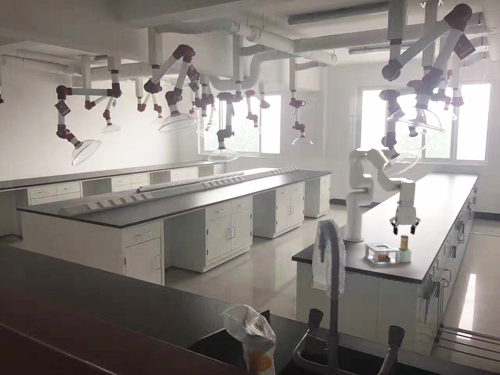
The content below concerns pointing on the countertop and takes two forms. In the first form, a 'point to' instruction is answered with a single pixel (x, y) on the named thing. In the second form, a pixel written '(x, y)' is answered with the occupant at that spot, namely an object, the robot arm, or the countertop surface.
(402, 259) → the holder
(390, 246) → the breaker guard
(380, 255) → the breaker plunger
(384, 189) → the robot arm
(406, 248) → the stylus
